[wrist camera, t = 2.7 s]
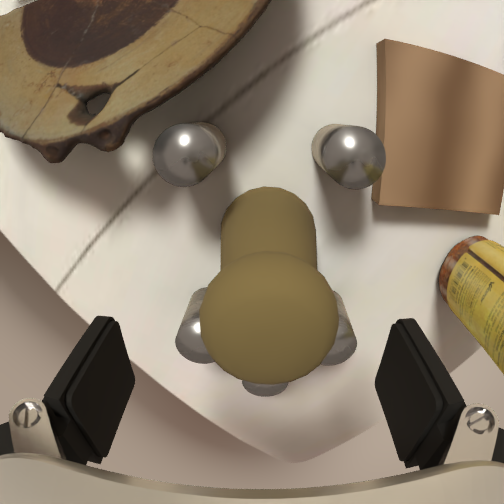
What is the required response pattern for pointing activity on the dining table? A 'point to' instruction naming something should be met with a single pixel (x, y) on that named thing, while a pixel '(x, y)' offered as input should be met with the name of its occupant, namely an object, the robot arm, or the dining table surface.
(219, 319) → the olive pawn
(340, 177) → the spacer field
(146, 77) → the broken ceramic bowl
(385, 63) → the walnut board
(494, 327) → the sauce bottle
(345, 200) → the dining table surface
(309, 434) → the dining table surface
